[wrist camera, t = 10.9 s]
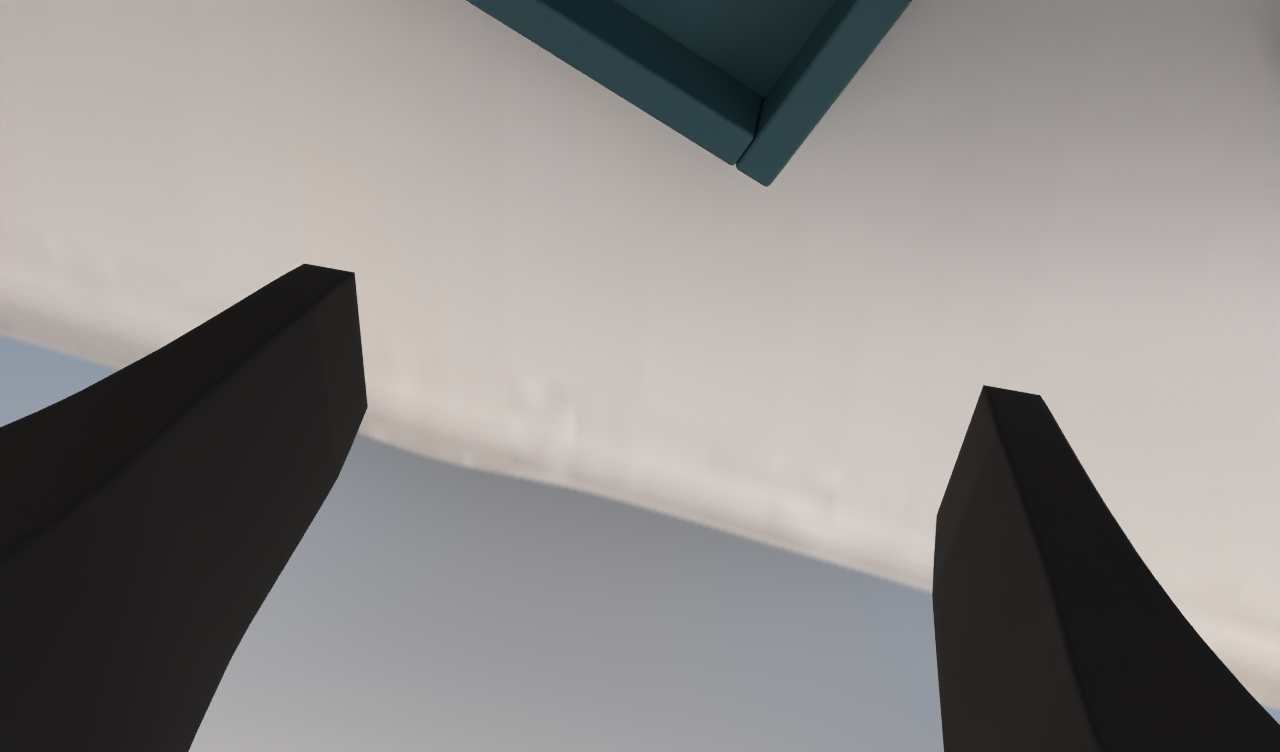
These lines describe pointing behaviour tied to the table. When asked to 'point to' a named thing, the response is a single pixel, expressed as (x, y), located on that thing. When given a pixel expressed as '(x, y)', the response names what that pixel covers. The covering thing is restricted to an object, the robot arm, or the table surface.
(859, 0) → the tray
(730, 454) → the table surface
